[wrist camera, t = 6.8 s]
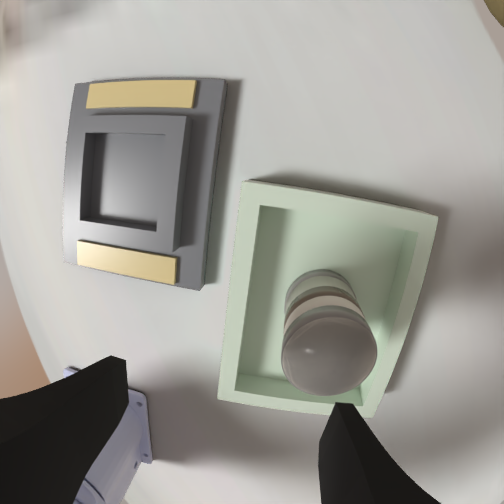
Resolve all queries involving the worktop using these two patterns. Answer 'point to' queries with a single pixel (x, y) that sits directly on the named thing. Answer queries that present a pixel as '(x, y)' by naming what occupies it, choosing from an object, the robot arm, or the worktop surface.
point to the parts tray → (312, 258)
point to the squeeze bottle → (496, 9)
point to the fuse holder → (142, 177)
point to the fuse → (325, 335)
